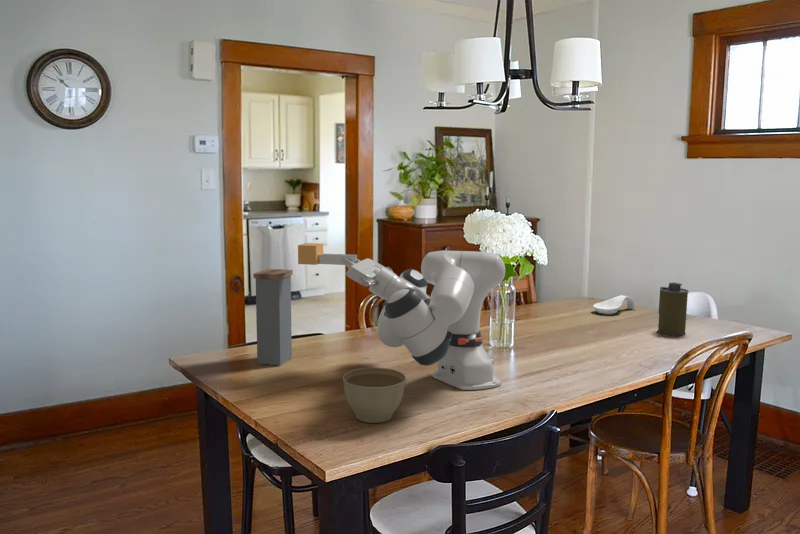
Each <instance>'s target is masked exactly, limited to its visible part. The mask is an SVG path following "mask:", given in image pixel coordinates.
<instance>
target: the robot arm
mask: <svg viewBox="0 0 800 534" xmlns="http://www.w3.org/2000/svg"><path fill="white" fill-rule="evenodd" d="M341 262H342V263H343V264H345V265H344V266H346V267H347V271H346V273H345V275H346V276H347V277H348V279H351V280H352V281H354V282H356V283H358V284H360V285H361V286H363V287H368V286H369V288H368V291H369V292H371V293H373V294H374V295H376V296H378V297H379V298H381V299H383V300H384V302H383V303H382V305H381V306H382V307H381V308H382V309H381V312H380V314H379V316H378V320H377V328H376V331H377V332H376V333H377V337H378V339H379V340H380V342H381V343H382V344H384V346H385V347H386V346H387V347H389V348H399V347H402V346H403V345H404V346H405V348H406V349H407V351H408V352H409V353H410V355H411V357H412V359H414V361H415V362H416V363H417V364H419V365H421V366H431V365H434V364H435V363H436V371H435V372H433V373H432V378H434V379H435V380H438V381H440V382H443V383H445V384H447V385H450V386H452V387H454V388H456V389H459V390H463V391H476V390H477V391H478V390H486V389H493V388H496V387H500V386H501V385H502V381H501V380H500V379H499V378H498V376H496V375H495V374H494V364H495V361H494V359H493V358H490V357H489V355H488V353H487V352H486V350H485V349H484V346H483V341H484V340H483V338H484V337H482V332H481V330H480V321H481V311H482V305H483V304H484V301H485V300H486V298H487V296H489V295H488V294H490V292H492V290H493V289H495V288H496V287H498V286H500V284H501V283H502V281H503V280H504V279H505V276H506V265H505V264H506V263H505V262H504V259H503V258H502V257H501V256H500V255H499V254H495V253H491V252H487V251H473V250H468V251H467V250H446V249H445V250H437V251H430V252H428V253H427V254H426V255H425V256H424V257H423V259H422V261H421V265H420V270H421V271H418V270H417V269H414V268H408V269H406V270H404V271H403V272H402V273H401V274H399V276H398V275H397V273H395V272H394V271H393V269H392V268H391V267H389V266H386V267H385V266H384V265H382V264H381V263H378V262H377V261H375V260H373V259H371V258H368V257H367V258H365V259H363V260H360V259H358V258H357V263H356V264H355V263H353V262H351V261H350V260H349V259H348V258H346V257H343V258H342V260H341ZM428 284H431V285H433V289H432V291H431V294H430V296H428V294H427V288H428Z"/></svg>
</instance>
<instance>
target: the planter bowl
mask: <svg viewBox="0 0 800 534" xmlns="http://www.w3.org/2000/svg"><path fill="white" fill-rule="evenodd" d="M406 378H407V377H406V375H405V374H404V373H403V372H402V371H401V372H400V371H399V370H395V369H391V368H384V367H364V368H363V367H362V368H356V369H352V370H350V371H348V372H346V373H344V375H343V376H342V382H343V388H344V389H343V390H344V394H345V398H346V400H347V403H348V405H349V407H350V408H351V410H352V412H354V414H355V418H356V419H357V420H359V421H361V422H364V423H369V424H378V423H386V422H388V421H390V420H391V419H393V415H394V413H395V412H396V410H397V409H398V407H399V406H400V404H401V402H402V399H403V396H404V391H405V386H406V381H407V380H406Z"/></svg>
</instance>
